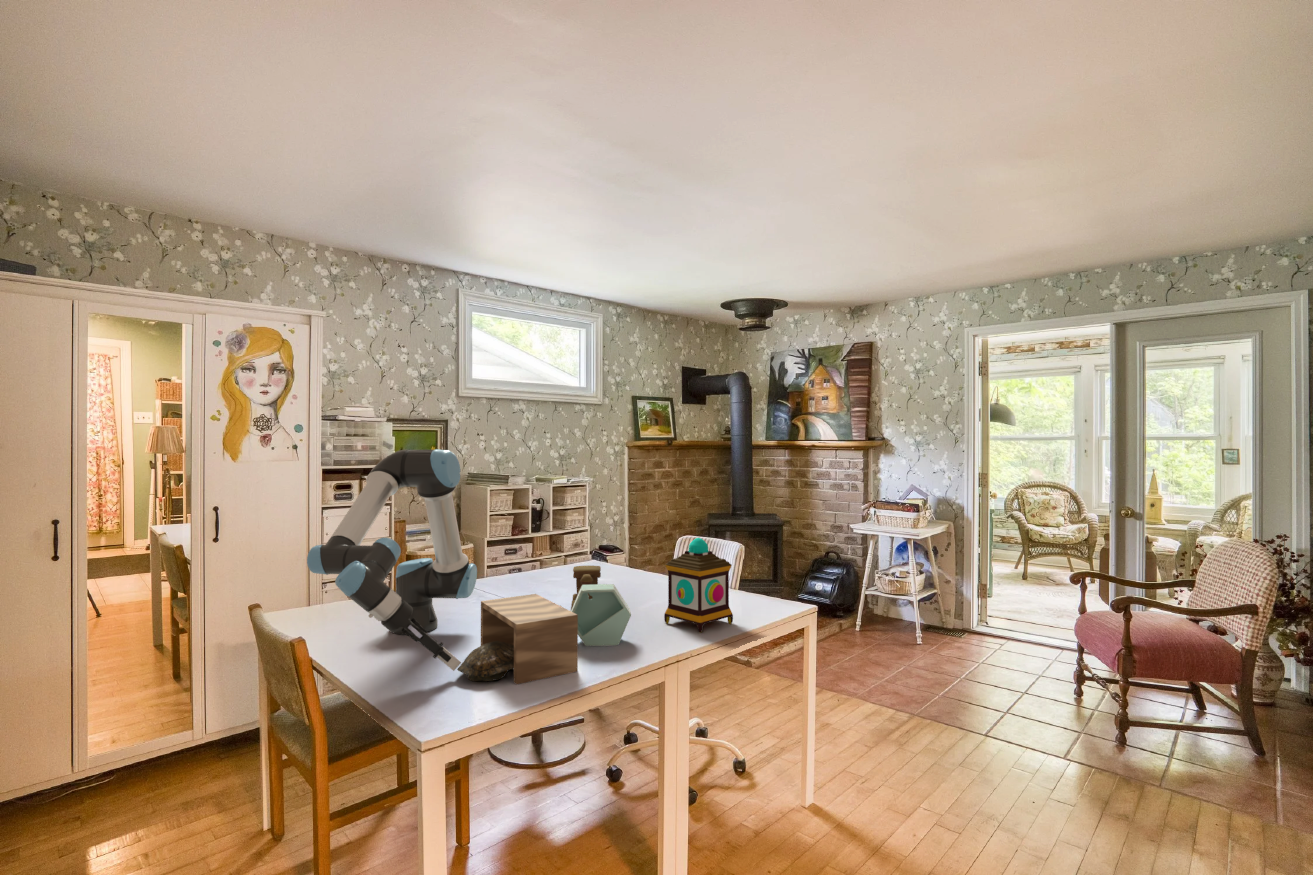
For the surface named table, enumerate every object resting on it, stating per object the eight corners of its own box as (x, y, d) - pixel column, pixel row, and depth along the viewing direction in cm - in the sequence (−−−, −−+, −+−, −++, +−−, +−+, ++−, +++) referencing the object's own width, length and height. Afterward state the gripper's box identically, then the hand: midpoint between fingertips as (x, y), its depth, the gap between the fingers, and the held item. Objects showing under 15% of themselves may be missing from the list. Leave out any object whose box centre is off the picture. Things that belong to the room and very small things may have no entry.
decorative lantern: (658, 623, 220) (658, 537, 221) (696, 613, 234) (696, 532, 234) (700, 635, 205) (700, 543, 206) (738, 623, 219) (738, 537, 220)
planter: (595, 660, 194) (558, 605, 194) (595, 652, 202) (560, 599, 201) (640, 629, 196) (604, 574, 195) (639, 622, 203) (604, 569, 203)
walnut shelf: (480, 653, 188) (480, 601, 188) (535, 643, 197) (535, 593, 197) (516, 684, 162) (516, 624, 163) (577, 671, 172) (577, 614, 172)
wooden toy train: (572, 609, 240) (572, 565, 240) (602, 608, 241) (602, 564, 241) (569, 623, 220) (569, 575, 220) (602, 622, 221) (602, 575, 221)
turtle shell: (446, 665, 161) (471, 628, 180) (450, 697, 162) (475, 657, 182) (509, 663, 160) (527, 626, 180) (512, 695, 162) (530, 655, 181)
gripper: (375, 616, 163) (440, 670, 171) (384, 628, 152) (452, 685, 160) (397, 594, 166) (460, 648, 174) (407, 603, 155) (473, 660, 163)
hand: (456, 665), depth 167 cm, fingers closed
